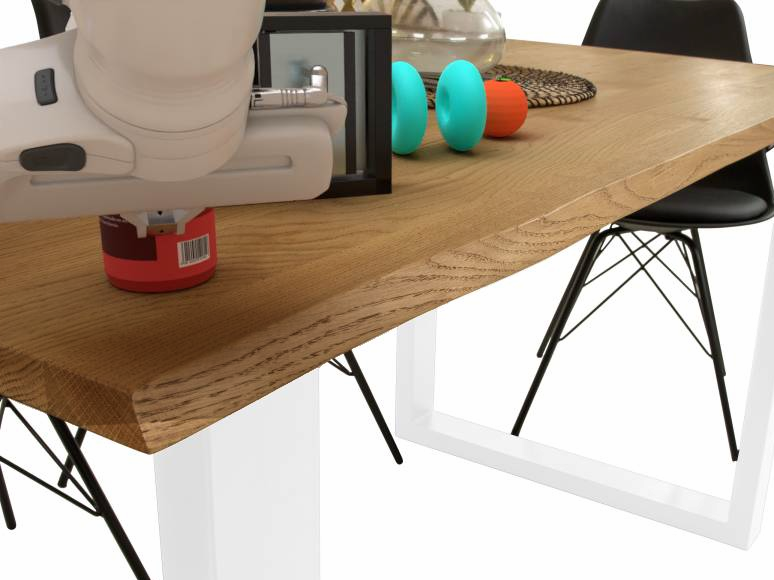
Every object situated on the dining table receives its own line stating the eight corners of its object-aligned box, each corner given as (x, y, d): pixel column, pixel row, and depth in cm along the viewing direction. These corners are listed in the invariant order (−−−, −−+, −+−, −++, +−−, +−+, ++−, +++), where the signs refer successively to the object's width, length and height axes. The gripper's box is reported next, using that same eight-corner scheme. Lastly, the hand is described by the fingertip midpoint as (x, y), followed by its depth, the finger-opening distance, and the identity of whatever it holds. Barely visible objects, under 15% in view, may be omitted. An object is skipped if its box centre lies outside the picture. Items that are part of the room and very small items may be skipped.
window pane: (274, 191, 87) (268, 38, 82) (262, 178, 91) (256, 32, 87) (370, 184, 90) (369, 36, 85) (354, 172, 94) (352, 31, 90)
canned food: (223, 257, 75) (214, 109, 71) (211, 293, 68) (201, 130, 64) (117, 258, 74) (103, 109, 71) (94, 295, 67) (76, 130, 63)
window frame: (150, 211, 87) (133, 17, 81) (145, 200, 90) (129, 13, 85) (391, 193, 95) (392, 14, 89) (378, 183, 98) (378, 11, 93)
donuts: (375, 145, 115) (375, 56, 112) (457, 141, 119) (459, 54, 115) (401, 163, 107) (402, 67, 103) (489, 158, 110) (492, 65, 106)
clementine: (487, 128, 127) (489, 70, 125) (538, 133, 124) (541, 75, 122) (460, 138, 120) (461, 78, 118) (513, 144, 118) (516, 82, 115)
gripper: (342, 44, 58) (307, 174, 70) (-48, 53, 51) (-13, 196, 63) (365, 134, 56) (325, 254, 68) (-40, 157, 49) (-6, 286, 61)
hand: (159, 226), depth 65 cm, fingers closed, pressing on canned food
